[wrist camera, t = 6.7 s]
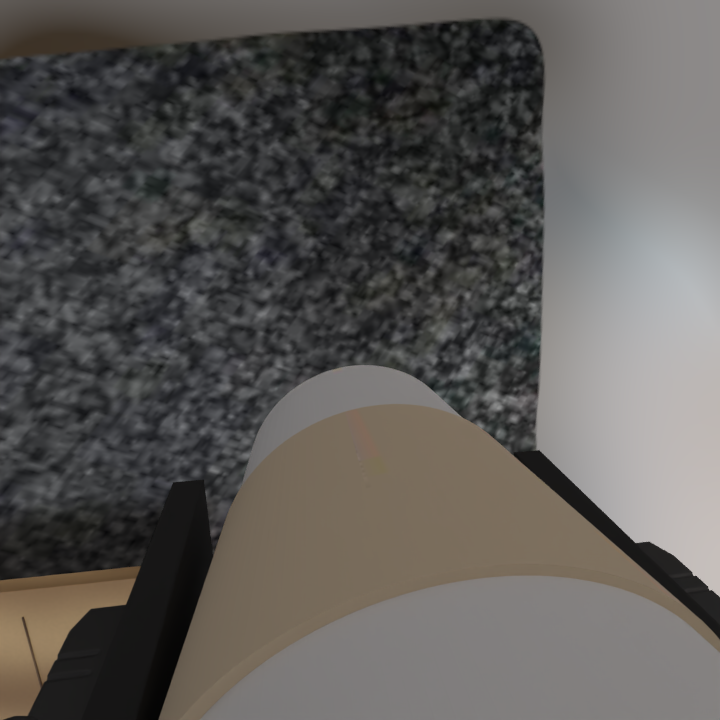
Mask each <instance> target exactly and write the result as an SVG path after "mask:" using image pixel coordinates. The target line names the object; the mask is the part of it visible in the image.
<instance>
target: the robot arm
mask: <svg viewBox="0 0 720 720" xmlns="http://www.w3.org/2000/svg"><path fill="white" fill-rule="evenodd" d="M514 457H515V458H517V459H518V460H519V461H520V462H521V463H522V464H523V465H525V466H526V467H527V468H528V469H529V470H530V471H531V472H533V473H534V474H535V475H536V476H537V477H538V478H539V479H541V480H542V481H543V482H544V483H545V484H546V485H547V486H549V487H550V488H551V489H552V490H553V491H554V492H555V493H557V494H558V495H559V496H560V497H561V498H562V499H563V500H565V501H566V502H567V503H568V504H569V505H570V506H571V507H573V508H574V509H575V510H576V511H577V512H578V513H579V514H581V515H582V516H583V517H584V518H585V519H586V520H587V521H589V522H590V523H591V524H592V525H593V526H594V527H595V528H597V529H598V530H599V531H600V532H601V533H602V534H603V535H605V536H606V537H607V538H608V539H609V540H610V541H611V542H613V543H614V544H615V545H616V546H617V547H618V548H619V549H621V550H622V551H623V552H624V553H625V554H626V555H627V556H629V557H630V558H631V559H632V560H633V561H634V562H635V563H637V564H638V565H639V566H640V567H641V568H642V569H643V570H645V571H646V572H647V573H648V574H649V575H650V576H651V577H653V578H654V579H655V580H656V581H657V582H658V583H659V584H661V585H662V586H663V587H664V588H665V589H666V590H667V591H669V592H670V593H671V594H672V595H673V596H674V597H675V598H677V599H678V600H679V601H680V602H681V603H682V604H683V605H685V606H686V607H687V608H688V609H689V610H690V611H691V612H693V613H694V614H695V615H696V616H697V617H698V618H699V619H701V620H702V621H703V622H704V623H705V624H706V625H707V626H708V627H709V628H710V629H711V630H712V631H713V632H714V633H715V634H716V636H717V637H718V638H719V639H720V597H719V596H718V595H717V594H715V593H714V592H713V591H712V590H711V591H709V589H708V586H707V585H706V584H704V583H703V582H702V581H701V580H700V579H699V578H698V577H697V576H693V574H692V572H691V571H690V570H689V569H688V568H687V567H686V566H685V565H683V564H682V563H681V562H680V561H679V560H678V559H677V558H676V557H675V556H673V555H672V554H670V553H668V552H666V551H665V550H662V549H661V548H659V547H658V546H656V545H654V544H652V543H650V542H643V543H635V542H634V541H633V540H632V539H630V537H628V536H627V535H626V534H625V533H624V532H623V531H622V530H621V529H620V528H619V527H618V526H617V525H616V524H615V523H614V522H613V521H612V520H611V519H610V518H609V517H608V516H607V515H606V514H605V513H604V512H602V510H601V509H599V508H598V507H597V506H596V505H595V504H594V503H593V502H592V501H591V500H590V499H589V498H588V497H587V496H586V495H585V494H584V493H583V492H582V491H581V490H580V489H579V488H578V487H577V486H575V484H574V483H572V481H570V480H569V479H568V478H567V477H566V476H565V475H564V474H563V473H562V472H561V471H560V470H559V469H558V468H557V467H556V466H555V465H554V464H553V463H552V462H551V461H550V460H549V459H547V457H546V456H544V454H542V453H541V452H540V451H539V450H538V451H526V452H515V453H514ZM212 559H213V552H212V544H211V536H210V527H209V519H208V511H207V503H206V495H205V487H204V480H196V481H185V482H173V485H172V487H171V490H170V492H169V495H168V497H167V500H166V503H165V505H164V508H163V510H162V513H161V516H160V518H159V521H158V523H157V526H156V528H155V531H154V534H153V536H152V539H151V541H150V544H149V546H148V549H147V552H146V554H145V557H144V559H143V562H142V565H141V567H140V570H139V572H138V575H137V577H136V580H135V583H134V585H133V588H132V590H131V593H130V595H129V598H128V601H127V603H126V605H119V606H111V607H102V608H94V609H90V610H89V611H88V612H87V613H86V614H85V615H84V616H83V617H82V619H81V620H80V621H79V622H78V623H77V624H76V625H75V626H74V627H73V628H72V629H71V630H70V631H69V633H68V635H67V637H66V639H65V641H64V643H63V645H62V647H61V649H60V651H59V653H58V655H57V656H58V657H57V660H55V661H54V663H53V665H52V667H51V669H50V671H49V673H48V675H47V681H44V683H43V685H42V688H41V690H40V692H39V694H38V696H37V698H36V700H35V702H34V704H33V706H32V708H31V710H30V712H29V714H28V716H13V717H10V718H7V719H4V720H159V717H160V714H161V711H162V708H163V705H164V702H165V699H166V696H167V693H168V690H169V687H170V684H171V681H172V678H173V675H174V672H175V669H176V666H177V663H178V660H179V657H180V654H181V651H182V648H183V645H184V642H185V639H186V636H187V633H188V630H189V627H190V624H191V621H192V618H193V615H194V612H195V609H196V606H197V603H198V600H199V597H200V594H201V591H202V588H203V585H204V582H205V579H206V576H207V573H208V571H209V568H210V565H211V562H212Z"/></svg>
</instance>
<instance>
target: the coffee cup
mask: <svg viewBox="0 0 720 720" xmlns="http://www.w3.org/2000/svg"><path fill="white" fill-rule="evenodd" d="M159 720H720V639H719V638H718V637H717V636H716V634H715V633H714V632H713V631H712V630H711V629H710V628H709V627H708V626H707V625H706V624H705V623H704V622H703V621H702V620H701V619H699V618H698V617H697V616H696V615H695V614H694V613H693V612H691V611H690V610H689V609H688V608H687V607H686V606H685V605H683V604H682V603H681V602H680V601H679V600H678V599H677V598H675V597H674V596H673V595H672V594H671V593H670V592H669V591H667V590H666V589H665V588H664V587H663V586H662V585H661V584H659V583H658V582H657V581H656V580H655V579H654V578H653V577H651V576H650V575H649V574H648V573H647V572H646V571H645V570H643V569H642V568H641V567H640V566H639V565H638V564H637V563H635V562H634V561H633V560H632V559H631V558H630V557H629V556H627V555H626V554H625V553H624V552H623V551H622V550H621V549H619V548H618V547H617V546H616V545H615V544H614V543H613V542H611V541H610V540H609V539H608V538H607V537H606V536H605V535H603V534H602V533H601V532H600V531H599V530H598V529H597V528H595V527H594V526H593V525H592V524H591V523H590V522H589V521H587V520H586V519H585V518H584V517H583V516H582V515H581V514H579V513H578V512H577V511H576V510H575V509H574V508H573V507H571V506H570V505H569V504H568V503H567V502H566V501H565V500H563V499H562V498H561V497H560V496H559V495H558V494H557V493H555V492H554V491H553V490H552V489H551V488H550V487H549V486H547V485H546V484H545V483H544V482H543V481H542V480H541V479H539V478H538V477H537V476H536V475H535V474H534V473H533V472H531V471H530V470H529V469H528V468H527V467H526V466H525V465H523V464H522V463H521V462H520V461H519V460H518V459H517V458H515V457H514V456H513V455H512V454H511V453H510V452H509V451H507V450H506V449H505V448H504V447H503V446H502V445H501V444H499V443H498V442H497V441H496V440H495V439H494V438H493V437H491V436H490V435H489V434H488V433H487V432H485V431H484V430H482V429H481V428H480V427H478V426H476V425H475V424H473V423H471V422H470V421H468V420H466V419H464V418H462V417H461V416H460V415H459V414H458V413H456V412H455V411H454V410H453V409H452V408H451V407H450V406H449V405H448V404H447V403H445V402H444V401H443V400H442V399H441V398H440V397H439V396H438V395H437V394H436V393H435V392H433V391H432V390H431V389H430V388H429V387H428V386H426V385H425V384H424V383H422V382H421V381H419V380H418V379H416V378H414V377H412V376H411V375H408V374H406V373H404V372H401V371H398V370H395V369H391V368H387V367H382V366H373V365H356V366H347V367H342V368H337V369H333V370H330V371H327V372H324V373H321V374H319V375H317V376H314V377H312V378H310V379H308V380H307V381H305V382H303V383H302V384H300V385H298V386H297V387H296V388H294V389H293V390H292V391H290V392H289V393H288V394H287V395H286V396H284V397H283V398H282V399H281V400H280V401H279V402H278V403H277V404H276V406H275V407H274V408H273V409H272V410H271V412H270V413H269V414H268V416H267V417H266V419H265V420H264V422H263V424H262V426H261V427H260V430H259V432H258V434H257V436H256V439H255V442H254V445H253V448H252V452H251V455H250V458H249V462H248V465H247V469H246V472H245V475H244V479H243V482H242V485H241V489H240V490H239V492H238V493H237V495H236V497H235V499H234V501H233V503H232V505H231V507H230V510H229V512H228V514H227V517H226V520H225V523H224V526H223V529H222V532H221V535H220V538H219V541H218V544H217V547H216V550H215V553H214V556H213V559H212V562H211V565H210V568H209V571H208V573H207V576H206V579H205V582H204V585H203V588H202V591H201V594H200V597H199V600H198V603H197V606H196V609H195V612H194V615H193V618H192V621H191V624H190V627H189V630H188V633H187V636H186V639H185V642H184V645H183V648H182V651H181V654H180V657H179V660H178V663H177V666H176V669H175V672H174V675H173V678H172V681H171V684H170V687H169V690H168V693H167V696H166V699H165V702H164V705H163V708H162V711H161V714H160V717H159Z"/></svg>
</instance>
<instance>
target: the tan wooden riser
mask: <svg viewBox="0 0 720 720" xmlns="http://www.w3.org/2000/svg"><path fill="white" fill-rule="evenodd" d="M140 567H141V566H136V567H126V568H117V569H107V570H97V571H87V572H77V573H68V574H58V575H48V576H38V577H29V578H19V579H9V580H0V720H4V719H7V718H10V717H13V716H28V714H29V712H30V710H31V708H32V706H33V704H34V702H35V700H36V698H37V696H38V694H39V692H40V690H41V688H42V685H43V683H44V681H47V675H48V673H49V671H50V669H51V667H52V665H53V663H54V661H55V660H57V657H58V656H57V655H58V653H59V651H60V649H61V647H62V645H63V643H64V641H65V639H66V637H67V635H68V633H69V631H70V630H71V629H72V628H73V627H74V626H75V625H76V624H77V623H78V622H79V621H80V620H81V619H82V617H83V616H84V615H85V614H86V613H87V612H88V611H89V610H90V609H94V608H102V607H111V606H119V605H126V603H127V601H128V598H129V595H130V593H131V590H132V588H133V585H134V583H135V580H136V577H137V575H138V572H139V570H140Z"/></svg>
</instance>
